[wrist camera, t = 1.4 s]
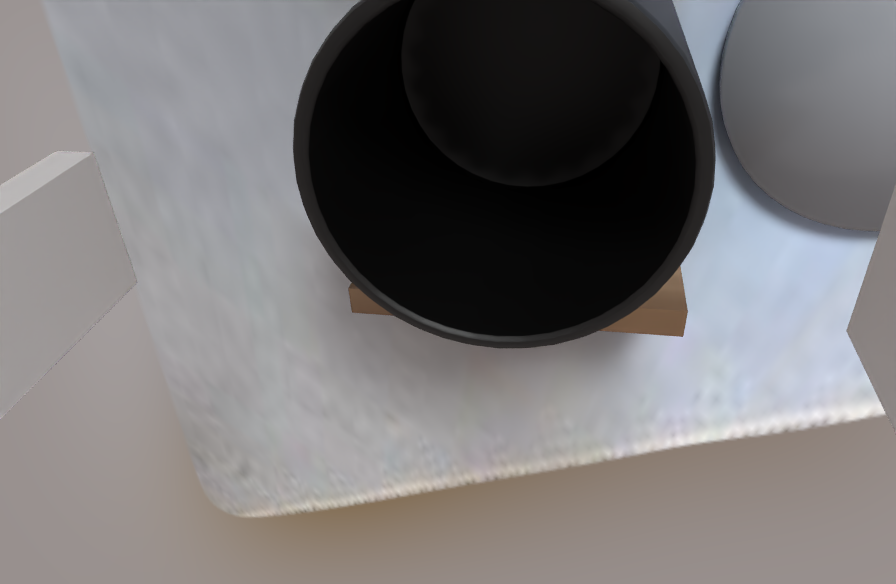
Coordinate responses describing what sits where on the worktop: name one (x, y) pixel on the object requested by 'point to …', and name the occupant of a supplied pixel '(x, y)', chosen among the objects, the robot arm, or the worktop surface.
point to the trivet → (815, 105)
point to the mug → (506, 161)
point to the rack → (652, 317)
